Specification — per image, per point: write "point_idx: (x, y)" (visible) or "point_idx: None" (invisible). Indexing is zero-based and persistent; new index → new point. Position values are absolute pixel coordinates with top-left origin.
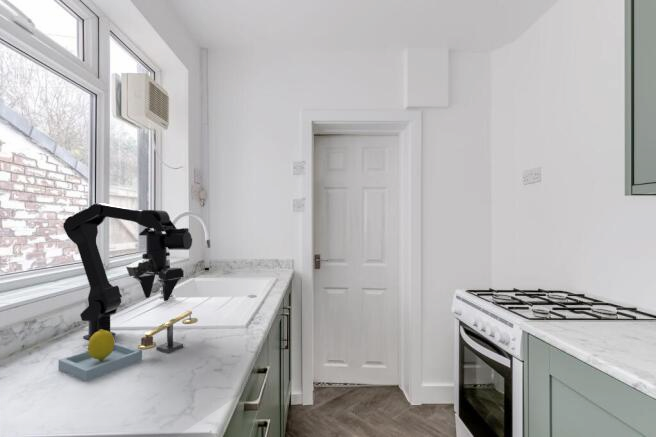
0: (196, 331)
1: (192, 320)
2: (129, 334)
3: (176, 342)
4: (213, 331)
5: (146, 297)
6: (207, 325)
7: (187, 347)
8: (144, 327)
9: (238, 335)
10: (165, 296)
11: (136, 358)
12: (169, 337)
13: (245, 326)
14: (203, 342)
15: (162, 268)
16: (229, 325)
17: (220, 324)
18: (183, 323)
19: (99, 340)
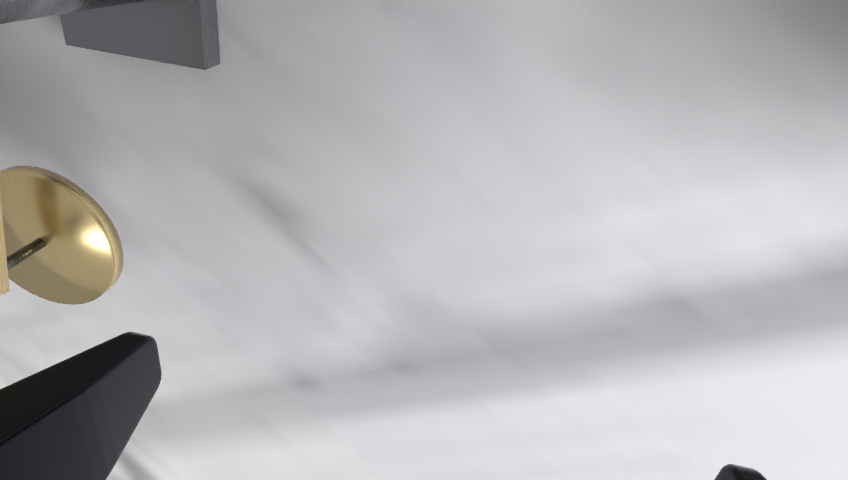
0: (298, 326)
1: (7, 236)
2: (822, 143)
3: (139, 50)
4: (198, 346)
5: (733, 470)
6: (329, 425)
7: (61, 49)
8: (800, 320)
9: (11, 319)
10: (26, 386)
11: None
12: None
13: None
14: (65, 167)
15: None
16: (206, 441)
17: (270, 448)
18: (40, 168)
19: None
